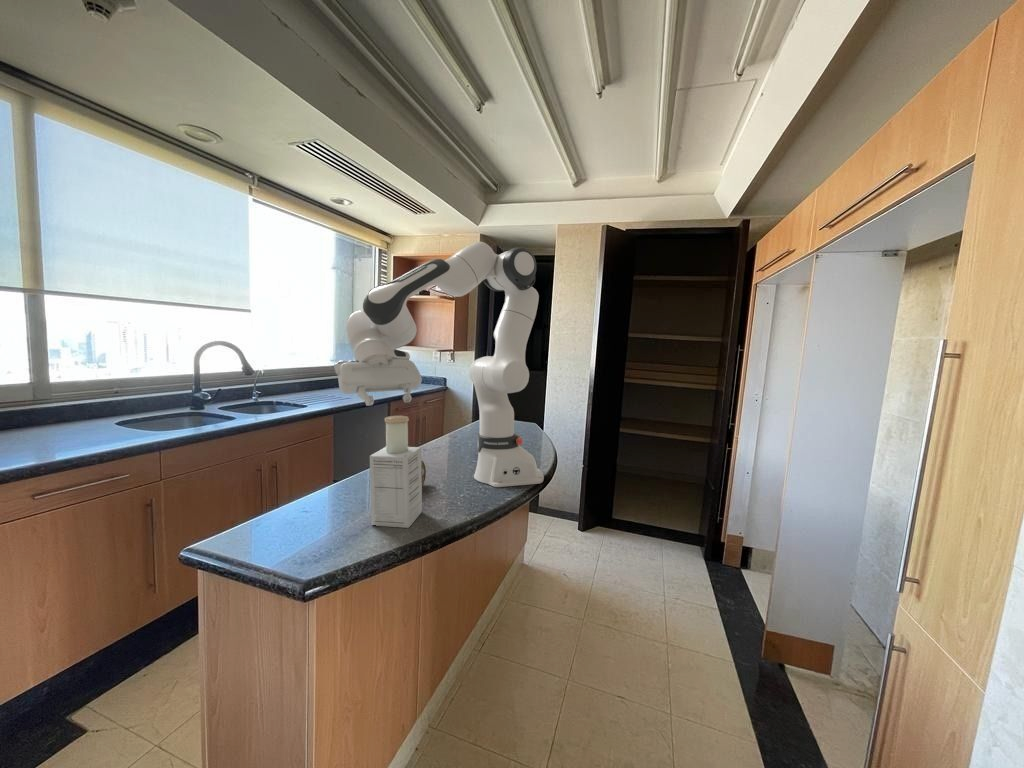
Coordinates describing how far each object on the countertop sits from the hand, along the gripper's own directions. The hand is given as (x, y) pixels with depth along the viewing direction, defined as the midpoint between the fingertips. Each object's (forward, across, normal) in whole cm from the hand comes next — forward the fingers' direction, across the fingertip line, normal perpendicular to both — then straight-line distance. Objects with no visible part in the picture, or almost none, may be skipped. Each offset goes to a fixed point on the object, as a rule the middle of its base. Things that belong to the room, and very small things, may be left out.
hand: (390, 402), depth 92 cm
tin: (+13, +10, +27) cm, 32 cm away
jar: (+11, 0, +5) cm, 12 cm away
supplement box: (+23, 0, +17) cm, 28 cm away
